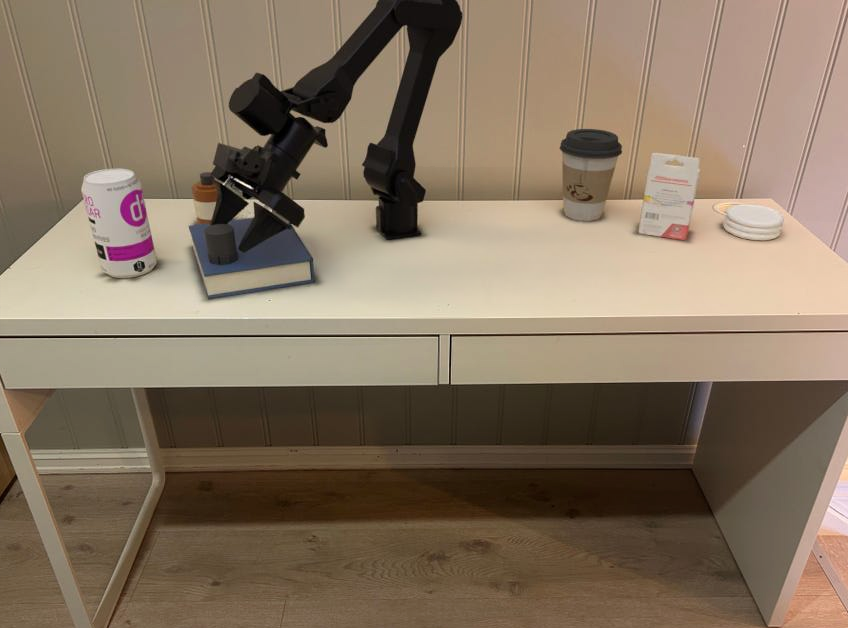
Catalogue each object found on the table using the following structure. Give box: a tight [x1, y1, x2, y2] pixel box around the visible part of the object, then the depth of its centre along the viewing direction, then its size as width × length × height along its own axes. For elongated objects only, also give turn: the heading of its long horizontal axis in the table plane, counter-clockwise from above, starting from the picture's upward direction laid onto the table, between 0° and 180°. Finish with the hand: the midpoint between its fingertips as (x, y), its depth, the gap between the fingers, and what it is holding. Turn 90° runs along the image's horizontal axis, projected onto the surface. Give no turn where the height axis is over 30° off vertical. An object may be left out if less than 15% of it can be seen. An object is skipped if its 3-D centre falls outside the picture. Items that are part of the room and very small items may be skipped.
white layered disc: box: [722, 203, 785, 241], centre depth 134 cm, size 10×10×4 cm
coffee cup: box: [559, 128, 623, 222], centre depth 136 cm, size 11×11×15 cm
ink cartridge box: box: [637, 152, 701, 241], centre depth 129 cm, size 9×5×15 cm, turn 68°
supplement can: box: [80, 168, 158, 279], centre depth 112 cm, size 8×8×15 cm
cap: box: [204, 224, 239, 265], centre depth 109 cm, size 4×4×5 cm
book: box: [188, 217, 316, 300], centre depth 117 cm, size 16×20×4 cm
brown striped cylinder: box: [191, 171, 217, 225], centre depth 130 cm, size 6×6×9 cm
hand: (226, 241), depth 109 cm, fingers open, 9 cm apart
